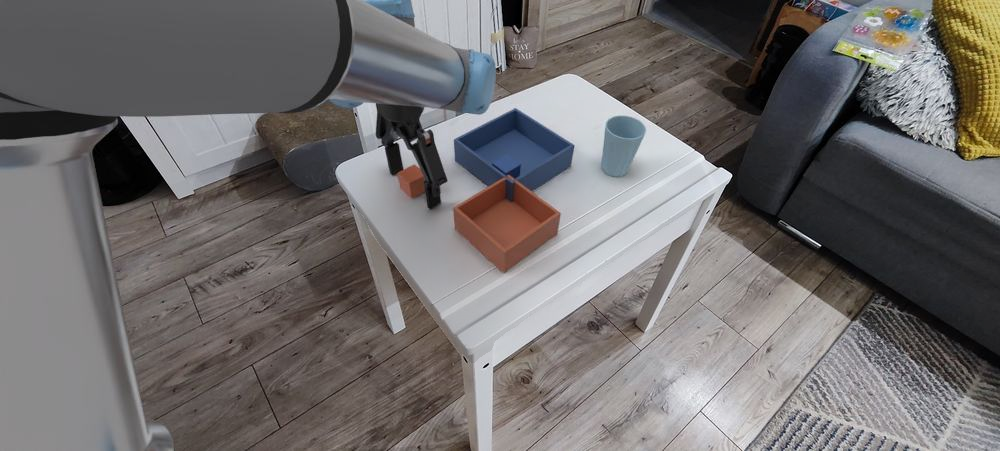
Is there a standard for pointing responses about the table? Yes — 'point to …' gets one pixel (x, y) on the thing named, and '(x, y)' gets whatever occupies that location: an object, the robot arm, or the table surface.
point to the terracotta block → (412, 181)
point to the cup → (621, 144)
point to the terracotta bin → (506, 223)
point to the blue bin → (514, 151)
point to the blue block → (508, 166)
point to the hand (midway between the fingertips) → (414, 187)
